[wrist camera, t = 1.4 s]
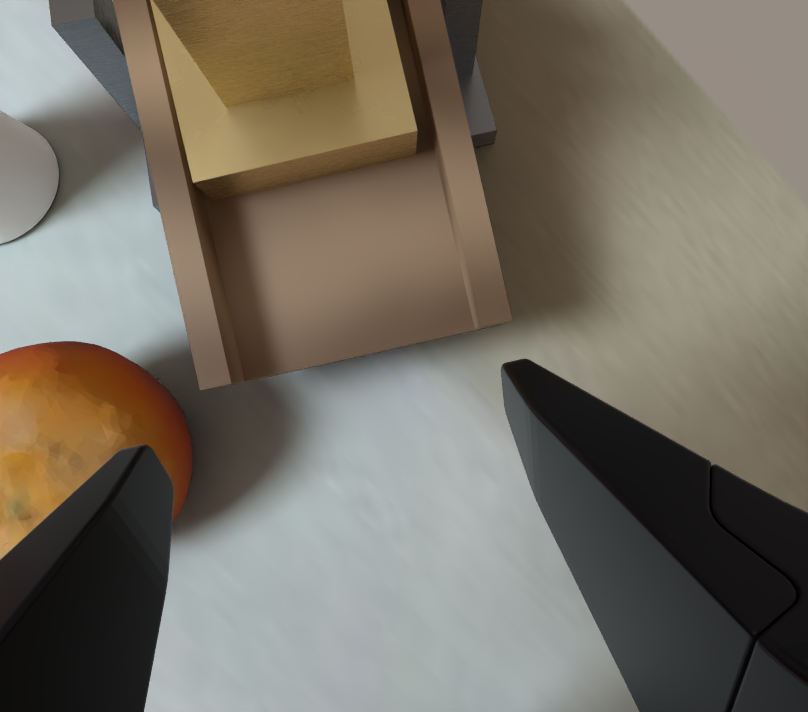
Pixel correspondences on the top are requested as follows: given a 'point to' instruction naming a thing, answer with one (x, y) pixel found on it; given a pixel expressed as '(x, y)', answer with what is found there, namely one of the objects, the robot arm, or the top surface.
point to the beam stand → (104, 56)
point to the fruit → (77, 427)
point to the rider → (284, 89)
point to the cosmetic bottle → (24, 178)
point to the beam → (326, 229)
